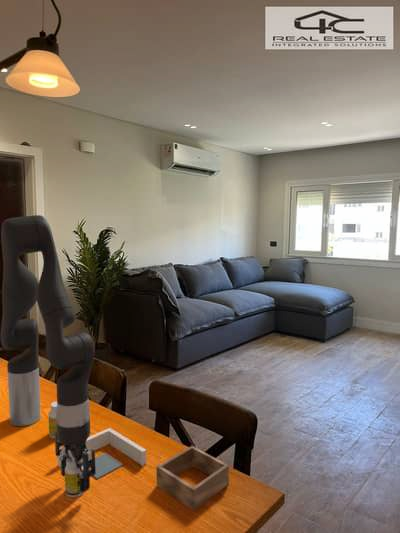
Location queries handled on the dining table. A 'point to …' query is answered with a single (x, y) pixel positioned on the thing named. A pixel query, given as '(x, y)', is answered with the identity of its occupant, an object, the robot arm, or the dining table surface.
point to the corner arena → (115, 445)
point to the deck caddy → (185, 491)
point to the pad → (105, 465)
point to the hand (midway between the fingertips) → (75, 482)
